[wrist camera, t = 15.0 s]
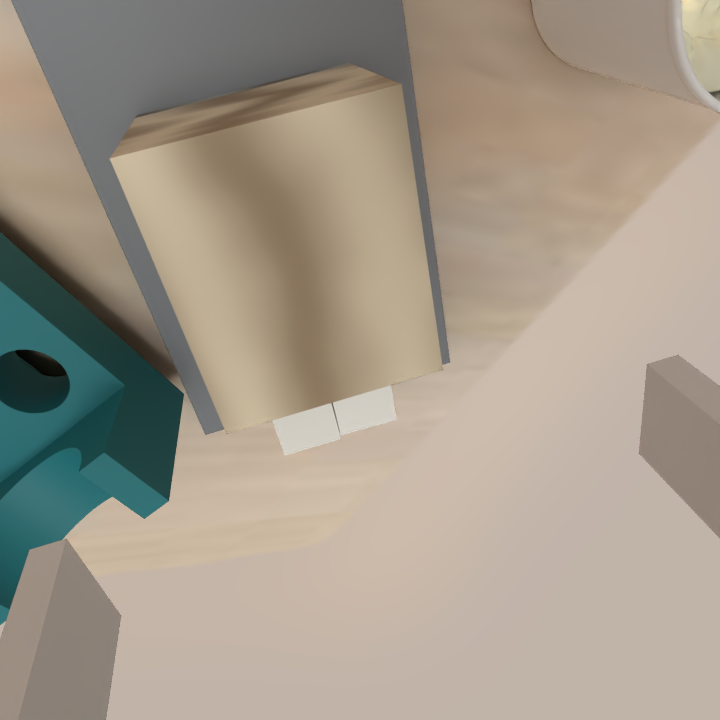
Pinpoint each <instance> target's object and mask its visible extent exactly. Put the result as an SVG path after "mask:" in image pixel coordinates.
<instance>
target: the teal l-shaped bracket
mask: <svg viewBox="0 0 720 720" xmlns="http://www.w3.org/2000/svg"><path fill="white" fill-rule="evenodd" d="M15 350H34V351H38V352H41V353H44V354H46V355H48V356H50V357H52V358H53V359H55V360H56V361H57V362H59V363H60V364H61V365H62V367H63V368H64V369H65V371H66V373H67V374H68V375H65V376H58V377H52V376H45V375H43V374H41V373H40V372H39V371H37V370H36V369H35V368H34V367H32V366H31V365H30V364H28V363H27V362H26V361H25V360H23V359H22V358H21V357H19V356H18V355H17V354H16V352H15ZM183 397H184V394H183V393H182V392H181V391H180V390H179V389H178V388H177V387H175V386H174V385H173V384H172V383H171V382H170V381H169V380H167V379H166V378H165V377H164V376H163V375H162V374H161V373H160V372H158V371H157V370H156V369H155V368H154V367H153V366H152V365H150V364H149V363H148V362H147V361H146V360H145V359H144V358H143V357H141V356H140V355H139V354H138V353H137V352H136V351H135V350H133V349H132V348H131V347H130V346H129V345H128V344H127V343H125V342H124V341H123V340H122V339H121V338H120V337H119V336H118V335H116V334H115V333H114V332H113V331H112V330H111V329H110V328H108V327H107V326H106V325H105V324H104V323H103V322H102V321H101V320H99V319H98V318H97V317H96V316H95V315H94V314H93V313H91V312H90V311H89V310H88V309H87V308H86V307H85V306H84V305H82V304H81V303H80V302H79V301H78V300H77V299H76V298H74V297H73V296H72V295H71V294H70V293H69V292H68V291H66V290H65V289H64V288H63V287H62V286H61V285H60V284H59V283H57V282H56V281H55V280H54V279H53V278H52V277H51V276H49V275H48V274H47V273H46V272H45V271H44V270H43V269H42V268H40V267H39V266H38V265H37V264H36V263H35V262H34V261H32V260H31V259H30V258H29V257H28V256H27V255H26V254H24V253H23V252H22V251H21V250H20V249H19V248H18V247H17V246H15V245H14V244H13V243H12V242H11V241H10V240H9V239H7V238H6V237H5V236H4V235H3V234H2V233H1V232H0V625H1V624H2V623H3V622H5V621H6V620H7V617H8V614H9V611H10V607H11V604H12V601H13V598H14V595H15V592H16V589H17V586H18V583H19V580H20V577H21V574H22V571H23V568H24V565H25V562H26V559H27V556H28V553H29V550H30V549H34V548H37V547H40V546H44V545H47V544H50V543H54V542H57V541H60V540H62V539H63V538H64V537H65V536H66V535H67V534H68V533H69V532H70V530H71V529H72V528H73V527H74V526H75V525H76V524H77V523H78V522H79V521H80V520H82V519H83V518H84V517H85V516H86V515H87V514H88V513H89V512H91V511H92V510H93V509H94V508H96V507H97V506H98V505H100V504H101V503H103V502H104V501H106V500H107V499H109V498H111V497H114V498H116V499H117V500H118V501H120V502H121V503H123V504H124V505H125V506H127V507H128V508H130V509H131V510H132V511H134V512H135V513H137V514H138V515H140V516H141V517H142V518H144V519H145V518H146V517H148V516H149V515H150V514H152V513H153V512H154V511H156V510H157V509H158V508H160V507H161V506H162V505H164V504H165V503H167V502H168V501H169V496H170V489H171V482H172V475H173V468H174V461H175V454H176V446H177V439H178V432H179V425H180V418H181V411H182V404H183Z"/></svg>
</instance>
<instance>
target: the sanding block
mask: <svg viewBox="0 0 720 720" xmlns="http://www.w3.org/2000/svg"><path fill="white" fill-rule="evenodd" d="M110 161H111V163H112V165H113V168H114V170H115V172H116V175H117V177H118V179H119V182H120V184H121V186H122V189H123V191H124V194H125V196H126V198H127V201H128V203H129V205H130V208H131V210H132V212H133V215H134V217H135V219H136V222H137V224H138V227H139V229H140V231H141V234H142V236H143V238H144V241H145V243H146V245H147V248H148V250H149V253H150V255H151V257H152V260H153V262H154V264H155V267H156V269H157V271H158V274H159V276H160V278H161V281H162V283H163V286H164V288H165V290H166V293H167V295H168V297H169V300H170V302H171V304H172V307H173V309H174V311H175V314H176V316H177V319H178V321H179V323H180V326H181V328H182V330H183V333H184V335H185V337H186V340H187V342H188V345H189V347H190V349H191V352H192V354H193V356H194V359H195V361H196V363H197V366H198V368H199V370H200V373H201V375H202V378H203V380H204V382H205V385H206V387H207V389H208V392H209V394H210V396H211V399H212V401H213V403H214V406H215V408H216V411H217V413H218V415H219V418H220V420H221V422H222V425H223V427H224V429H225V432H226V434H229V433H232V432H236V431H239V430H242V429H246V428H249V427H252V426H256V425H259V424H262V423H266V422H269V421H272V420H276V419H279V418H283V417H286V416H289V415H293V414H296V413H299V412H303V411H306V410H309V409H313V408H316V407H319V406H323V405H326V404H329V403H333V402H336V401H340V400H343V399H346V398H350V397H353V396H356V395H360V394H363V393H366V392H370V391H373V390H376V389H380V388H383V387H386V386H390V385H393V384H397V383H400V382H403V381H407V380H410V379H413V378H417V377H420V376H423V375H427V374H430V373H433V372H437V371H440V370H443V366H442V360H441V353H440V346H439V339H438V332H437V325H436V318H435V311H434V304H433V297H432V290H431V284H430V277H429V270H428V263H427V256H426V249H425V242H424V235H423V228H422V221H421V214H420V207H419V201H418V194H417V187H416V180H415V173H414V166H413V159H412V152H411V145H410V138H409V131H408V125H407V118H406V111H405V104H404V97H403V90H402V84H400V83H398V82H395V81H393V80H390V79H388V78H385V77H383V76H381V75H378V74H376V73H373V72H371V71H368V70H366V69H363V68H361V67H358V66H356V65H353V64H351V63H344V64H340V65H336V66H332V67H328V68H324V69H320V70H316V71H312V72H308V73H304V74H300V75H296V76H292V77H288V78H284V79H280V80H276V81H272V82H268V83H264V84H260V85H256V86H252V87H248V88H244V89H240V90H236V91H232V92H228V93H224V94H220V95H216V96H212V97H208V98H204V99H200V100H196V101H192V102H188V103H184V104H180V105H176V106H172V107H168V108H164V109H160V110H156V111H152V112H148V113H144V114H140V115H137V116H136V117H135V119H134V121H133V122H132V124H131V125H130V127H129V129H128V130H127V132H126V133H125V135H124V137H123V138H122V140H121V141H120V143H119V145H118V146H117V148H116V149H115V151H114V152H113V154H112V156H111V157H110Z"/></svg>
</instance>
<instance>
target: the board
mask: <svg viewBox="0 0 720 720" xmlns="http://www.w3.org/2000/svg"><path fill="white" fill-rule="evenodd" d="M11 1H12V3H13V5H14V8H15V10H16V12H17V14H18V17H19V19H20V21H21V23H22V26H23V28H24V30H25V32H26V34H27V37H28V39H29V41H30V43H31V46H32V48H33V50H34V52H35V55H36V57H37V59H38V61H39V64H40V66H41V68H42V70H43V72H44V75H45V77H46V79H47V81H48V84H49V86H50V88H51V90H52V93H53V95H54V97H55V99H56V102H57V104H58V106H59V108H60V111H61V113H62V115H63V117H64V119H65V122H66V124H67V126H68V128H69V131H70V133H71V135H72V137H73V140H74V142H75V144H76V146H77V149H78V151H79V153H80V155H81V157H82V160H83V162H84V164H85V166H86V169H87V171H88V173H89V175H90V178H91V180H92V182H93V184H94V187H95V189H96V191H97V193H98V196H99V198H100V200H101V202H102V204H103V207H104V209H105V211H106V213H107V216H108V218H109V220H110V222H111V225H112V227H113V229H114V231H115V234H116V236H117V238H118V240H119V242H120V245H121V247H122V249H123V251H124V254H125V256H126V258H127V260H128V263H129V265H130V267H131V269H132V272H133V274H134V276H135V278H136V281H137V283H138V285H139V287H140V289H141V292H142V294H143V296H144V298H145V301H146V303H147V305H148V307H149V310H150V312H151V314H152V316H153V319H154V321H155V323H156V325H157V327H158V330H159V332H160V334H161V336H162V339H163V341H164V343H165V345H166V348H167V350H168V352H169V354H170V357H171V359H172V361H173V363H174V366H175V368H176V370H177V372H178V374H179V377H180V379H181V381H182V383H183V386H184V388H185V390H186V392H187V395H188V397H189V399H190V401H191V404H192V406H193V408H194V410H195V412H196V415H197V417H198V419H199V421H200V424H201V426H202V428H203V430H204V433H205V435H207V434H210V433H213V432H217V431H220V430H223V429H224V427H223V425H222V422H221V420H220V418H219V415H218V413H217V411H216V408H215V406H214V403H213V401H212V399H211V396H210V394H209V392H208V389H207V387H206V385H205V382H204V380H203V378H202V375H201V373H200V370H199V368H198V366H197V363H196V361H195V359H194V356H193V354H192V352H191V349H190V347H189V345H188V342H187V340H186V337H185V335H184V333H183V330H182V328H181V326H180V323H179V321H178V319H177V316H176V314H175V311H174V309H173V307H172V304H171V302H170V300H169V297H168V295H167V293H166V290H165V288H164V286H163V283H162V281H161V278H160V276H159V274H158V271H157V269H156V267H155V264H154V262H153V260H152V257H151V255H150V253H149V250H148V248H147V245H146V243H145V241H144V238H143V236H142V234H141V231H140V229H139V227H138V224H137V222H136V219H135V217H134V215H133V212H132V210H131V208H130V205H129V203H128V201H127V198H126V196H125V194H124V191H123V189H122V186H121V184H120V182H119V179H118V177H117V175H116V172H115V170H114V168H113V165H112V163H111V161H110V157H111V156H112V154H113V152H114V151H115V149H116V148H117V146H118V145H119V143H120V141H121V140H122V138H123V137H124V135H125V133H126V132H127V130H128V129H129V127H130V125H131V124H132V122H133V121H134V119H135V117H136V116H137V115H140V114H144V113H148V112H152V111H156V110H160V109H164V108H168V107H172V106H176V105H180V104H184V103H188V102H192V101H196V100H200V99H204V98H208V97H212V96H216V95H220V94H224V93H228V92H232V91H236V90H240V89H244V88H248V87H252V86H256V85H260V84H264V83H268V82H272V81H276V80H280V79H284V78H288V77H292V76H296V75H300V74H304V73H308V72H312V71H316V70H320V69H324V68H328V67H332V66H336V65H340V64H344V63H351V64H353V65H356V66H358V67H361V68H363V69H366V70H368V71H371V72H373V73H376V74H378V75H381V76H383V77H385V78H388V79H390V80H393V81H395V82H398V83H400V84H402V90H403V97H404V104H405V111H406V118H407V125H408V131H409V138H410V145H411V152H412V159H413V166H414V173H415V180H416V187H417V194H418V201H419V207H420V214H421V221H422V228H423V235H424V242H425V249H426V256H427V263H428V270H429V277H430V284H431V290H432V297H433V304H434V311H435V318H436V325H437V332H438V339H439V346H440V353H441V360H442V365H443V364H447V363H450V358H449V350H448V343H447V335H446V328H445V320H444V312H443V305H442V297H441V290H440V282H439V275H438V267H437V260H436V252H435V245H434V237H433V230H432V222H431V215H430V207H429V199H428V192H427V184H426V177H425V169H424V162H423V154H422V147H421V139H420V132H419V124H418V117H417V109H416V101H415V94H414V86H413V79H412V71H411V64H410V56H409V49H408V41H407V34H406V26H405V19H404V11H403V3H402V0H11Z"/></svg>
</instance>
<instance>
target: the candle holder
mask: <svg viewBox="0 0 720 720" xmlns="http://www.w3.org/2000/svg"><path fill="white" fill-rule="evenodd" d="M531 3H532V10H533V16H534V20H535V23H536V26H537V29H538V31H539V34H540V36H541V37H542V39H543V41H544V43H545V44H546V45H547V47H548V48H549V49H550V50H551V51H552V53H553V54H555V55H556V56H557V57H558V58H559V59H561V60H562V61H564V62H565V63H567V64H569V65H571V66H574V67H576V68H579V69H582V70H584V71H587V72H591V73H594V74H597V75H600V76H603V77H607V78H610V79H613V80H616V81H620V82H623V83H626V84H630V85H633V86H636V87H640V88H643V89H646V90H650V91H653V92H656V93H660V94H663V95H666V96H670V97H673V98H676V99H680V100H683V101H686V102H690V103H693V104H696V105H700V106H703V107H706V108H709V109H711V110H713V111H715V112H717V113H719V114H720V0H531Z"/></svg>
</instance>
